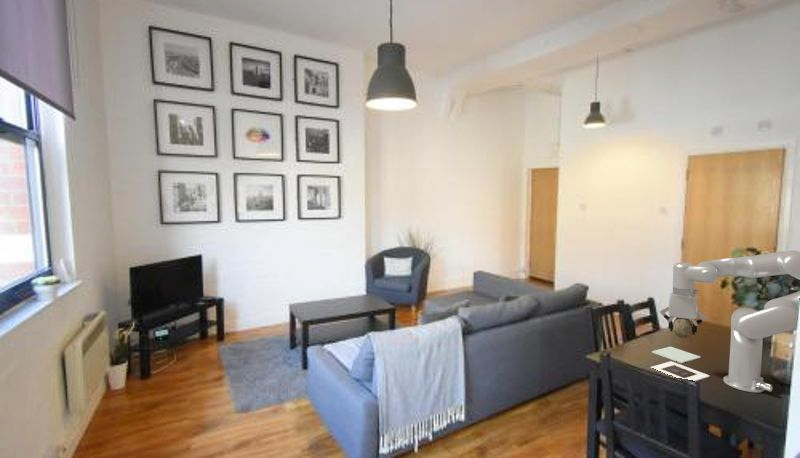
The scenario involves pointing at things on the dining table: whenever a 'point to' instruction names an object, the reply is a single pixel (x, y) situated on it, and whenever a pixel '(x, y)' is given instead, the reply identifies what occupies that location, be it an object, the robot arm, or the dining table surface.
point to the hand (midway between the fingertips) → (682, 331)
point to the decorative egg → (682, 327)
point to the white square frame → (670, 364)
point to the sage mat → (676, 354)
